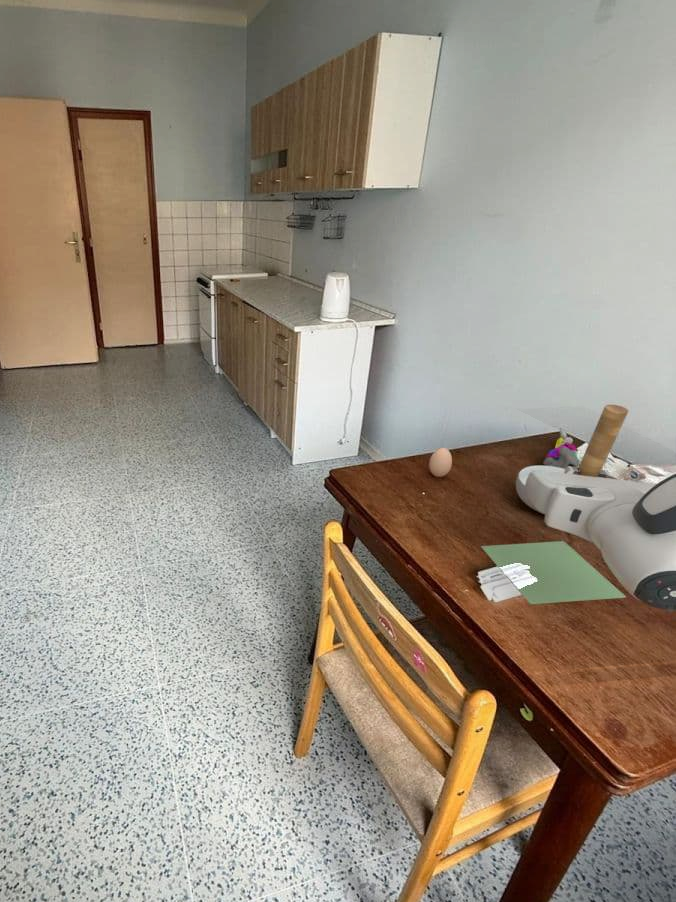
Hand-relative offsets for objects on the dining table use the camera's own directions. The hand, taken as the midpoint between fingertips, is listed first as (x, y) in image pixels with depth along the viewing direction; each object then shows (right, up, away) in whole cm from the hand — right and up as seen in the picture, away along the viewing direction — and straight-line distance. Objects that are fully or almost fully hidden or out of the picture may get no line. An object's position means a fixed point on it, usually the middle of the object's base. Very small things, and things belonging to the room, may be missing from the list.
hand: (584, 471), depth 80 cm
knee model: (+31, +1, +49) cm, 58 cm away
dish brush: (0, -7, +3) cm, 8 cm away
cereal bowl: (+14, -10, +29) cm, 34 cm away
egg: (-6, -3, +43) cm, 43 cm away
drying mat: (+1, -20, +11) cm, 22 cm away
